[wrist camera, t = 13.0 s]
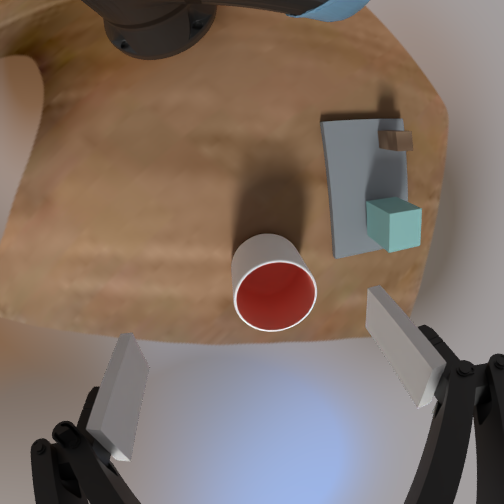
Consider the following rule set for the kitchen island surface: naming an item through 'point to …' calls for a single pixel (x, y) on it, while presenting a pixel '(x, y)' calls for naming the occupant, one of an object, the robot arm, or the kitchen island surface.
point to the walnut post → (395, 140)
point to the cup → (271, 283)
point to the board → (359, 178)
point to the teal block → (394, 223)
